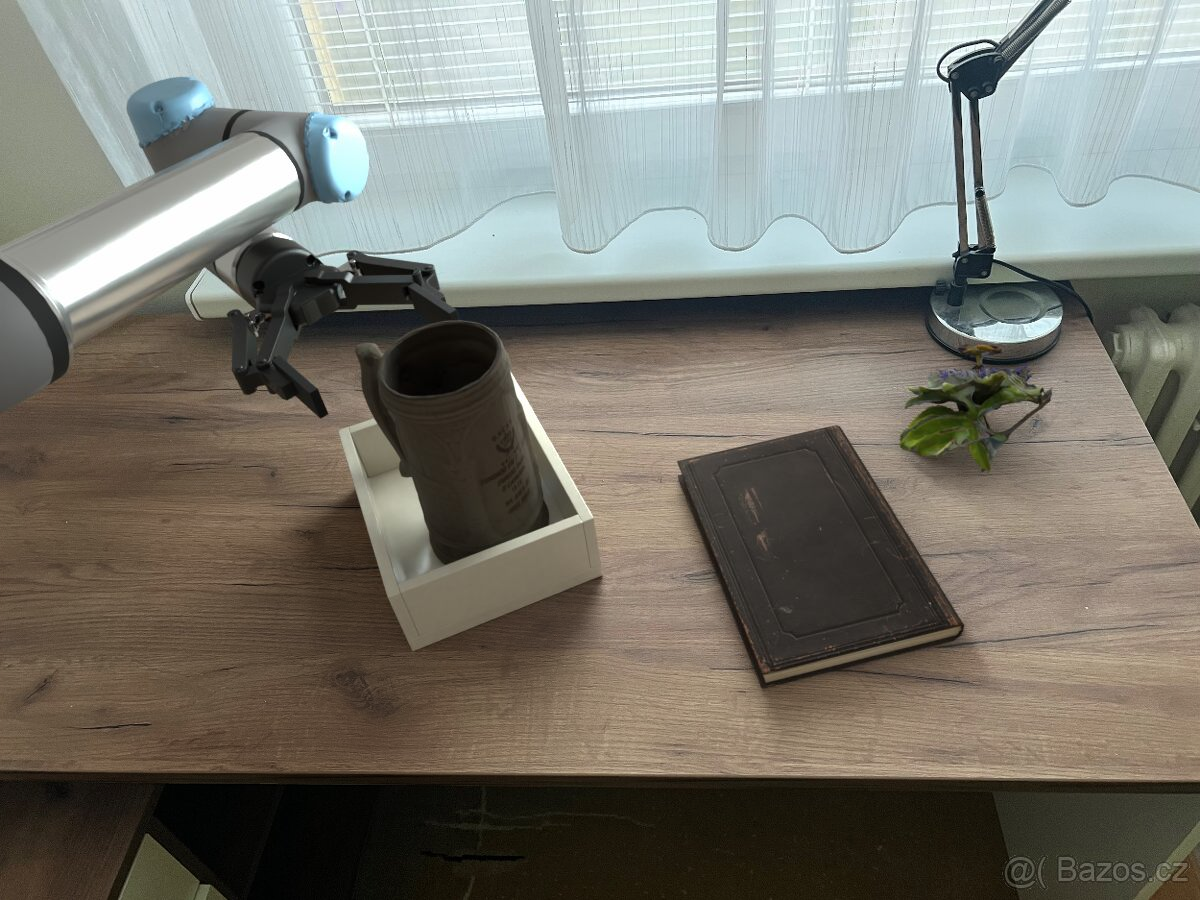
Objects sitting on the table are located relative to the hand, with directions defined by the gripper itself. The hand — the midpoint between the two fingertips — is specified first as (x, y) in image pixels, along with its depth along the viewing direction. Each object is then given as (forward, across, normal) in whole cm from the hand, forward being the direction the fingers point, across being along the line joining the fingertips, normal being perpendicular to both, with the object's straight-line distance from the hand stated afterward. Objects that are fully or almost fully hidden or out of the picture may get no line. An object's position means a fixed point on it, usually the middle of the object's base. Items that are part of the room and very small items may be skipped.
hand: (390, 362), depth 72 cm
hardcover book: (+30, -18, -16) cm, 38 cm away
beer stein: (+6, +1, -15) cm, 16 cm away
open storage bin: (+6, 0, -16) cm, 17 cm away
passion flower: (+33, -38, -16) cm, 53 cm away
